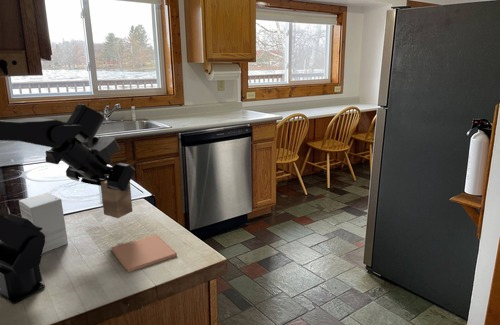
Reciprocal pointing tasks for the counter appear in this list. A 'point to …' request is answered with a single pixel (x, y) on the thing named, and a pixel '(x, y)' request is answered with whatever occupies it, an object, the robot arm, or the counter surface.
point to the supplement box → (46, 218)
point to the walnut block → (116, 201)
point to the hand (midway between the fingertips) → (120, 187)
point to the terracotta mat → (143, 252)
